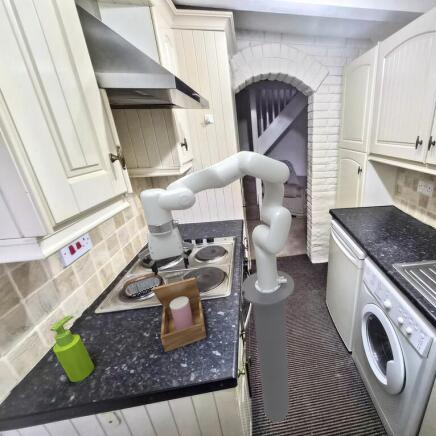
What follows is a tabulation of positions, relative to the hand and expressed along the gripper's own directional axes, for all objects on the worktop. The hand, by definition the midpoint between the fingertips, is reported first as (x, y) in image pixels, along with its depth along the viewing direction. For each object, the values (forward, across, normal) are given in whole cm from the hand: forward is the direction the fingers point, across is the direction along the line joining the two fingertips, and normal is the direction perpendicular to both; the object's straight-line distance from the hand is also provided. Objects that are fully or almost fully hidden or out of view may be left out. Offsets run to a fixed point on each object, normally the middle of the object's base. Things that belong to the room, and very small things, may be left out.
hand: (171, 269), depth 82 cm
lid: (+10, 0, +1) cm, 10 cm away
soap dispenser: (+25, +30, +8) cm, 39 cm away
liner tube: (+24, 0, +4) cm, 24 cm away
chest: (+24, 0, +4) cm, 25 cm away
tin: (+25, +17, -28) cm, 41 cm away
